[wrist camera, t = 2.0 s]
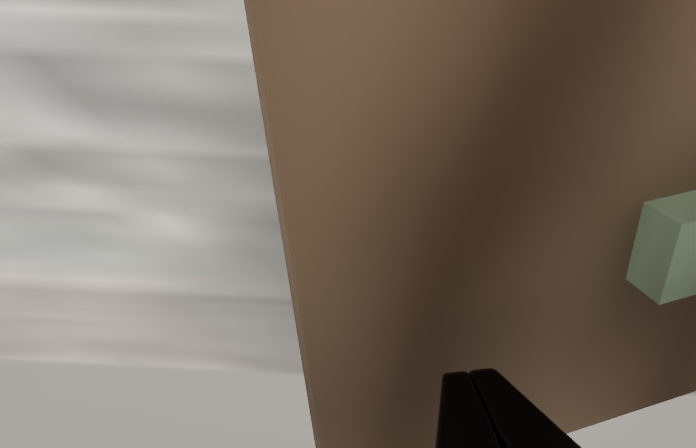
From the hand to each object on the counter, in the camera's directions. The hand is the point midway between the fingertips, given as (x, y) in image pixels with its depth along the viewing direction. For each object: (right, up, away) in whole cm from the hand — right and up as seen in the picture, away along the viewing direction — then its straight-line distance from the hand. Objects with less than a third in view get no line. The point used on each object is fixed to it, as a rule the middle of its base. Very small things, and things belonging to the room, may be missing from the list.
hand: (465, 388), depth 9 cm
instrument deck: (+7, +3, +5) cm, 9 cm away
